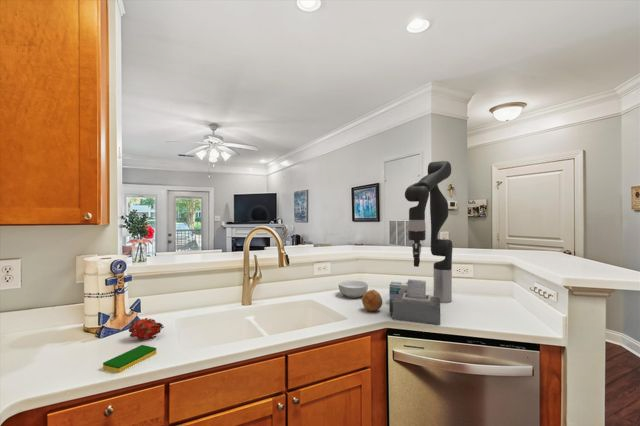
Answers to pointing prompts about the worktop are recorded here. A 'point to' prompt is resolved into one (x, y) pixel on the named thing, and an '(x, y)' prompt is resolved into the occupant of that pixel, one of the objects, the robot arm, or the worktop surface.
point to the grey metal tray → (416, 309)
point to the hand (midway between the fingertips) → (416, 264)
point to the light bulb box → (397, 289)
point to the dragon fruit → (145, 328)
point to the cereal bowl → (353, 288)
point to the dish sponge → (129, 358)
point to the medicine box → (416, 289)
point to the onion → (372, 300)
